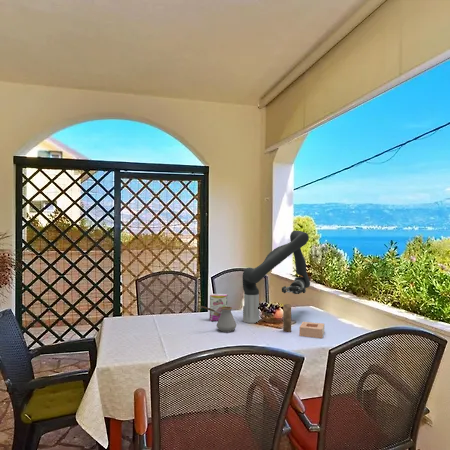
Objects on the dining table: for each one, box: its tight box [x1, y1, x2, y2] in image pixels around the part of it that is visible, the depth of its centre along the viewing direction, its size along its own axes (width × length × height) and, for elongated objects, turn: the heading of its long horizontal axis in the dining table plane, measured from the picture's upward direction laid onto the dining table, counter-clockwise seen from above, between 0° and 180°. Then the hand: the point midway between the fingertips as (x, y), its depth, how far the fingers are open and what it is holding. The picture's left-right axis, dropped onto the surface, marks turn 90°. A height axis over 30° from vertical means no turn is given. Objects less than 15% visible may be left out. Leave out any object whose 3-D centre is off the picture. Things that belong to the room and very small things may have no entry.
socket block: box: [298, 321, 325, 339], centre depth 207 cm, size 12×12×5 cm
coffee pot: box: [199, 305, 237, 333], centre depth 214 cm, size 21×12×15 cm, turn 109°
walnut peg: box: [282, 303, 292, 333], centre depth 213 cm, size 4×4×15 cm
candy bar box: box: [209, 293, 229, 322], centre depth 236 cm, size 11×5×16 cm, turn 84°
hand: (291, 291), depth 225 cm, fingers open, 8 cm apart
